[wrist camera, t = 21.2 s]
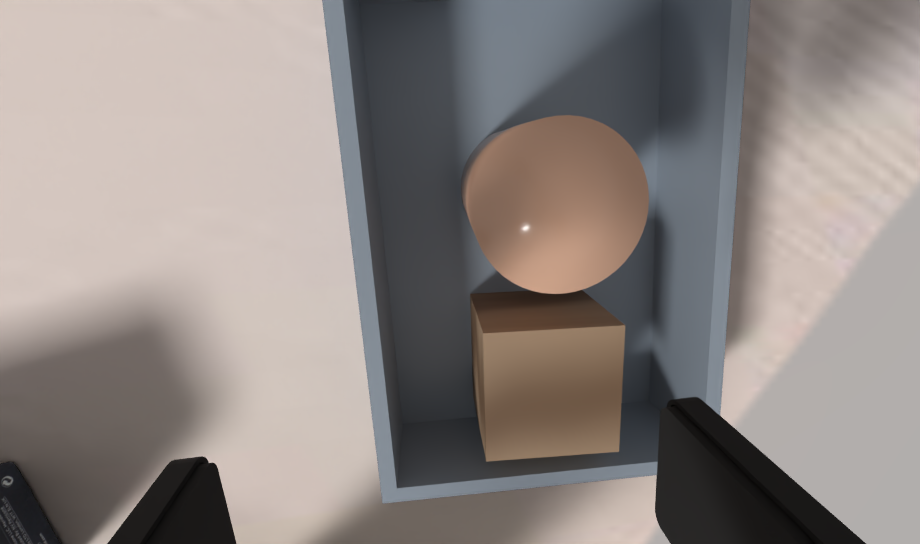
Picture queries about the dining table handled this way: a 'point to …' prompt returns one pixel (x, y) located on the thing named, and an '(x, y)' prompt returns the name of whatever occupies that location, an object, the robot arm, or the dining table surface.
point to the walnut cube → (546, 374)
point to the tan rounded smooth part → (556, 202)
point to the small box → (21, 511)
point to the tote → (454, 242)
